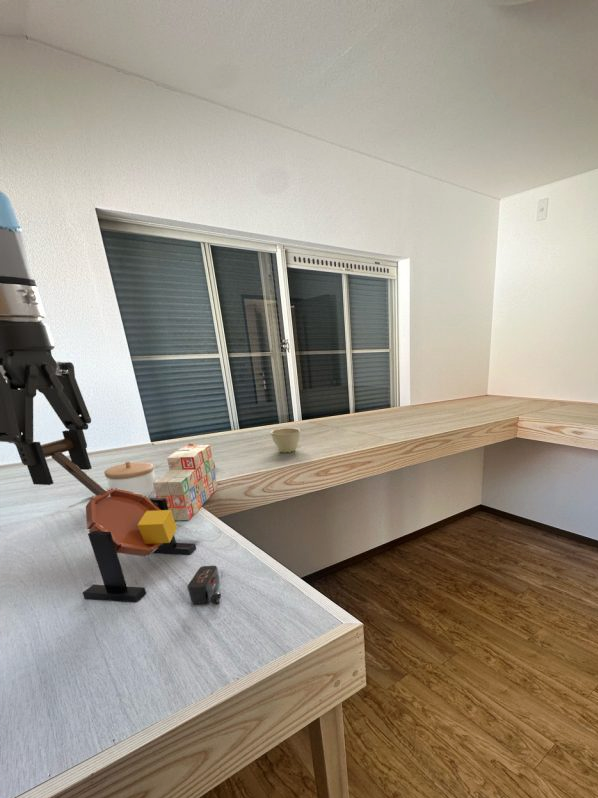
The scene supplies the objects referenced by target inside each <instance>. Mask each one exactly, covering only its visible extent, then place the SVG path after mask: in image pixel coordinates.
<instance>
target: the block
mask: <svg viewBox="0 0 598 798" xmlns="http://www.w3.org/2000/svg"><path fill="white" fill-rule="evenodd" d="M137 526H138V528H139V530H140V533H141V535H142V537H143V540H144V542H145V544H154V543H170V541H171V539H172V537H173V536H175V533H176V532H177V530H178V527H177V524H176V520H174V518H173V515H172V512H171V510H157V511H146V512H145V514H144V516H143V517H142V519H141V520H140V522H139V523H138V525H137Z"/></svg>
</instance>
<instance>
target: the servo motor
mask: <svg viewBox="0 0 598 798" xmlns="http://www.w3.org/2000/svg"><path fill="white" fill-rule="evenodd" d="M220 582H221V580H220V575H219V571H218V566H217V565H203V566H200V567H199V568H198V569H197V571H196V573H195V574H194V575H193V577H192V578H191V580H190V581H189V583H188V584H187V590H188V594H189V599H190V602H191V603H192V604H194V605H198V604H200V605H201V604H208V603H209V602H210V604H211V605H215V606H218V605H220V603H221V601H220V600H221V599H222V594H221V592H215V591H216V589H217V588H218V586H219V584H220Z"/></svg>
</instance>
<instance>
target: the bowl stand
mask: <svg viewBox="0 0 598 798" xmlns="http://www.w3.org/2000/svg"><path fill="white" fill-rule="evenodd" d="M148 499H149V500H150V501H151V502H156V503H158V504H159V507H158V508H159V509H161V510H168V506H167V502H166V498H156V497H148ZM87 536H88V539H89V542H90V545H91V548H92V551H93V554H94V557H95V560H96V564H97V567H98V569H99V572H100V575H101V579H102V581H103V584H97V583H95V584H92V585H91V586H89V587H87V588H86V589H85V590H83V591H82V592H81V593H82V596H83V599H85V600H98V601H115V602H129V603H138V602H139V601H140V600H141V599H142V598H143V597H144V596H145V595H147V591H146V588H145V587H144V586H143V587H141V586H128V585H127V582H126V579H125V575H124V571H123V568H122V565H121V562H120V559H119V556H118V553H117V552H116V548H115V545H114V542H113V538H112V535H111V532H103V531H92V532H88V533H87ZM196 550H197V545H196V543H191V542H189V543H188V542H177V541H176V536H175V535H174V536H173V537H172V539H171V541H170V543H164V544H163V545H162V546H160V547H159V548H158V549H156V550H155V551H154V552H153V553H152V554H168V555H169V554H170V555H171V554H172V555H187V556H189V555H191V554H192V553H193V552H195V551H196Z"/></svg>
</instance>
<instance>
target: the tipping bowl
mask: <svg viewBox="0 0 598 798" xmlns="http://www.w3.org/2000/svg"><path fill="white" fill-rule="evenodd" d="M41 447H42V450H43V453H44V456H45V459H47V458H51V459H53V460H54V461H55V462H56V463H57V464H59V466H60V467H62V468H63V469H64V470H65V471H67V472H68V474H70V475H71V476H73V478H75V479H76V480H77V481H78V482H79V483H81V484H82V485H83V486H84V487H85V488H86V489H88V490H89V491H90V492H91V493H93V494H94V496H93V497H91V498H90V500H89V501H88V502H87V504H86V505H85V516H86V517H85V518H86V528H87V530H88V533H90V532H92V531H103V532H111V535H112V538H113V542H114V545H115V548H116V552H117V554H125V555H131V556H132V555H133V556H138V557H148V556H150V555H151V554H154V553H153V552H154V551H155V550H156V549H158V548H159V547H160V546H162V545H163V544H164V543H154V544H145V542H144V540H143V537H142V535H141V533H140V530H139V528H138V526H137V525H138V523H139V522H140V520H141V519H142V517H143V516H144V514H145V512H146V511H157V510H161V509H159V508H158V507H159V504H158V503H156V502H151V501H150V500H149V497H146V496H144V497H143V495H142V494H138V493H134V492H130V491H126V490H121V489H117V488H115V489H113V488H112V489H111V488H110V489H108V490H106V489H105V488H103V487H102V486H101V485H100V484H99V483H98V482H96V481H95V480H94V479H93V478H92V477H91V476H89V475H88V474H87V473H86V472H85V471H84V470H81V469H80V468H79V467H78V466H76V465H75V464H74V463H73V462H72V461H71V458H68V456H66V455H65V454H64V453H66V452H68V451H69V450H72V449H73V443H72V441H71V440H69V439H67V438H64V437H63V438H61V439H58V440H57V439H56V440H53V441H51V442H47V443H44V444H41Z"/></svg>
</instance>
